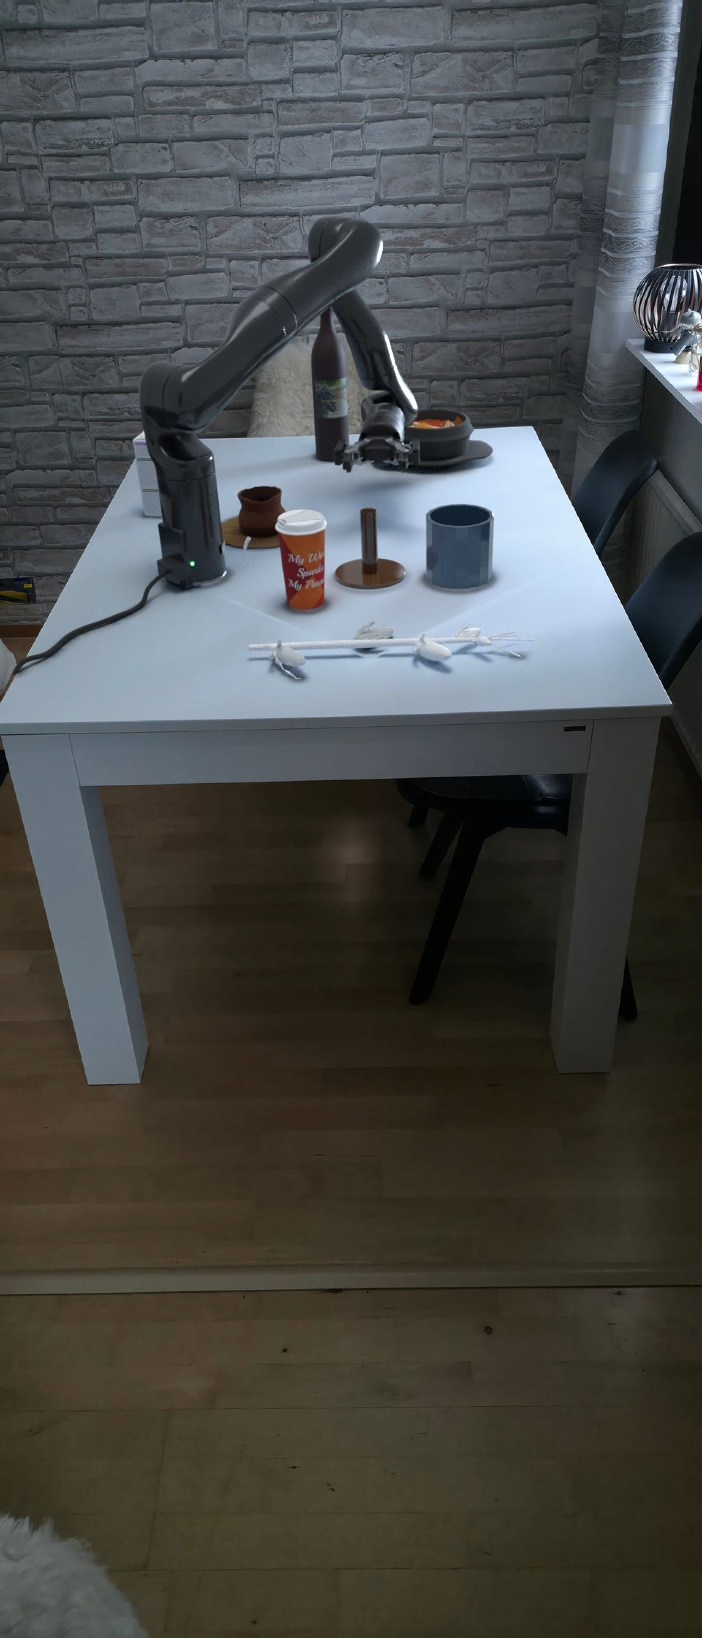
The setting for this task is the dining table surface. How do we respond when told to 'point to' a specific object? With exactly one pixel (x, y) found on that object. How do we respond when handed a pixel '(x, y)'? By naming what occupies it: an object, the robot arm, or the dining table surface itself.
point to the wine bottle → (329, 388)
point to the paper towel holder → (369, 560)
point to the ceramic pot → (255, 518)
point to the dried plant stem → (377, 642)
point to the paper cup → (303, 557)
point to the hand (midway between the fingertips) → (374, 466)
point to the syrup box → (147, 478)
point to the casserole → (444, 439)
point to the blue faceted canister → (459, 546)
